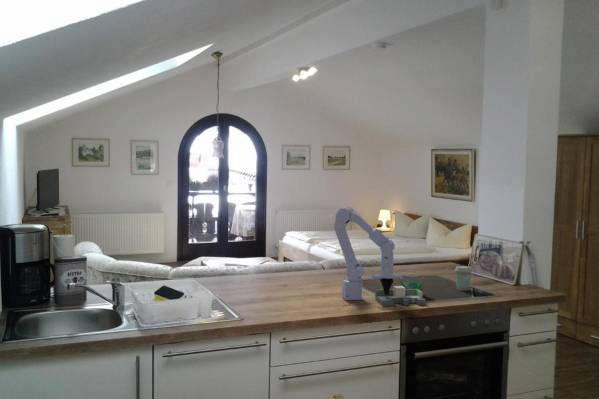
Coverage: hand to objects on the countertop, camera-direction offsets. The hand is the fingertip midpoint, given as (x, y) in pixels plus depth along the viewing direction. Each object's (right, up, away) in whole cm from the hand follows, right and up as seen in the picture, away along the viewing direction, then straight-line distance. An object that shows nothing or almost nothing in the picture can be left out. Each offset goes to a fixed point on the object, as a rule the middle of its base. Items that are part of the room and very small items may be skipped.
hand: (386, 294), depth 265 cm
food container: (+16, -3, +14) cm, 21 cm away
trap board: (+6, -4, -1) cm, 7 cm away
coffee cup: (+45, -3, +29) cm, 53 cm away
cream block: (+6, -1, +1) cm, 6 cm away
